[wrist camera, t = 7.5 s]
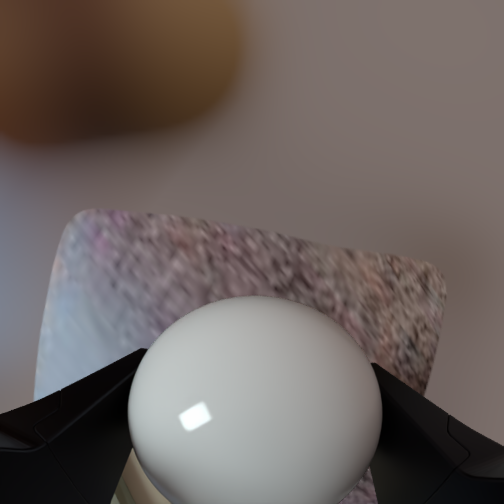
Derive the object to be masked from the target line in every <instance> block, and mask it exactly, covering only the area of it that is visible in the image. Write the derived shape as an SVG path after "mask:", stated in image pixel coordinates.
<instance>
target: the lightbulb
mask: <svg viewBox="0 0 504 504" xmlns="http://www.w3.org/2000/svg"><path fill="white" fill-rule="evenodd" d="M128 428H129V434H130V439H131V443H132V447H133V450H134V453H135V455H136V458H137V460H138V462H139V464H140V466H141V468H142V470H143V471H144V473H145V475H146V476H147V478H148V479H149V481H150V482H151V483H152V484H153V486H154V487H155V488H156V489H157V490H158V491H159V492H160V494H161V495H162V496H163V497H165V498H166V499H167V500H168V501H169V502H170V503H171V504H338V503H339V502H341V501H342V500H343V499H344V498H345V497H346V496H347V495H348V494H349V493H350V492H351V491H352V490H353V489H354V488H355V487H356V485H357V484H358V483H359V481H360V480H361V479H362V477H363V476H364V474H365V473H366V471H367V469H368V467H369V466H370V464H371V462H372V459H373V457H374V455H375V452H376V449H377V446H378V443H379V439H380V434H381V428H382V399H381V393H380V388H379V384H378V381H377V378H376V375H375V372H374V370H373V367H372V365H371V363H370V361H369V359H368V357H367V356H366V354H365V353H364V351H363V350H362V348H361V347H360V345H359V344H358V343H357V342H356V340H355V339H354V338H353V337H352V336H351V335H350V334H349V333H348V332H347V331H346V330H345V329H344V328H343V327H342V326H340V325H339V324H338V323H337V322H335V321H334V320H333V319H331V318H330V317H328V316H327V315H325V314H323V313H322V312H320V311H318V310H316V309H314V308H312V307H309V306H307V305H304V304H302V303H299V302H296V301H292V300H288V299H284V298H279V297H272V296H258V295H253V296H239V297H232V298H227V299H222V300H218V301H215V302H212V303H209V304H206V305H204V306H201V307H199V308H197V309H195V310H193V311H191V312H189V313H187V314H186V315H184V316H182V317H181V318H179V319H178V320H177V321H175V322H174V323H173V324H171V325H170V326H169V327H168V328H167V329H166V330H165V331H163V332H162V333H161V334H160V335H159V337H158V338H157V339H156V340H155V341H154V342H153V344H152V345H151V346H150V348H149V349H148V350H147V352H146V353H145V355H144V357H143V358H142V360H141V362H140V364H139V366H138V368H137V371H136V373H135V376H134V379H133V382H132V385H131V389H130V394H129V400H128Z"/></svg>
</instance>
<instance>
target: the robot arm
mask: <svg viewBox="0 0 504 504" xmlns="http://www.w3.org/2000/svg"><path fill="white" fill-rule="evenodd" d="M147 350H148V349H145V348H140V349H138V350H136V351H135V352H133V353H131V354H129V355H127V356H125V357H123V358H121V359H119V360H117V361H116V362H114V363H112V364H110V365H108V366H106V367H104V368H102V369H100V370H98V371H96V372H94V373H92V374H90V375H88V376H86V377H84V378H82V379H81V380H79V381H77V382H75V383H73V384H71V385H69V386H67V387H65V388H63V389H61V391H60V390H58V391H56V392H54V393H52V394H50V395H48V396H46V397H44V398H42V399H40V400H37V401H35V402H32V403H30V404H27V405H25V406H22V407H19V408H16V409H14V410H11V411H8V412H5V413H2V414H0V504H111V501H112V498H113V496H114V493H115V491H116V488H117V486H118V483H119V480H120V478H121V475H122V473H123V470H124V468H125V465H126V463H127V460H128V458H129V455H130V453H131V450H132V448H133V447H132V443H131V439H130V434H129V428H128V400H129V394H130V389H131V385H132V382H133V379H134V376H135V373H136V371H137V368H138V366H139V364H140V362H141V360H142V358H143V357H144V355H145V353H146V352H147ZM371 365H372V367H373V370H374V372H375V375H376V378H377V381H378V384H379V388H380V393H381V399H382V428H381V434H380V439H379V443H378V446H377V449H376V452H375V455H374V457H373V459H372V462H371V464H370V469H371V474H372V478H373V483H374V487H375V492H376V497H377V501H378V504H504V446H502V445H500V444H498V443H497V442H495V441H493V440H491V439H489V438H487V437H485V436H484V435H482V434H480V433H478V432H476V431H474V430H473V429H471V428H469V427H468V426H466V425H465V424H463V423H462V422H460V421H458V420H457V419H455V418H454V417H453V416H451V415H448V413H446V412H445V411H444V410H442V409H441V408H439V407H438V406H436V405H435V404H433V403H432V402H430V401H429V400H428V399H426V398H425V397H423V396H422V395H420V394H419V393H418V392H416V391H415V390H413V389H412V388H410V387H409V386H408V385H406V384H405V383H403V382H402V381H400V380H399V379H398V378H396V377H395V376H393V375H392V374H390V373H389V372H388V371H386V370H385V369H383V368H382V367H380V366H379V365H378V364H376V363H371Z"/></svg>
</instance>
